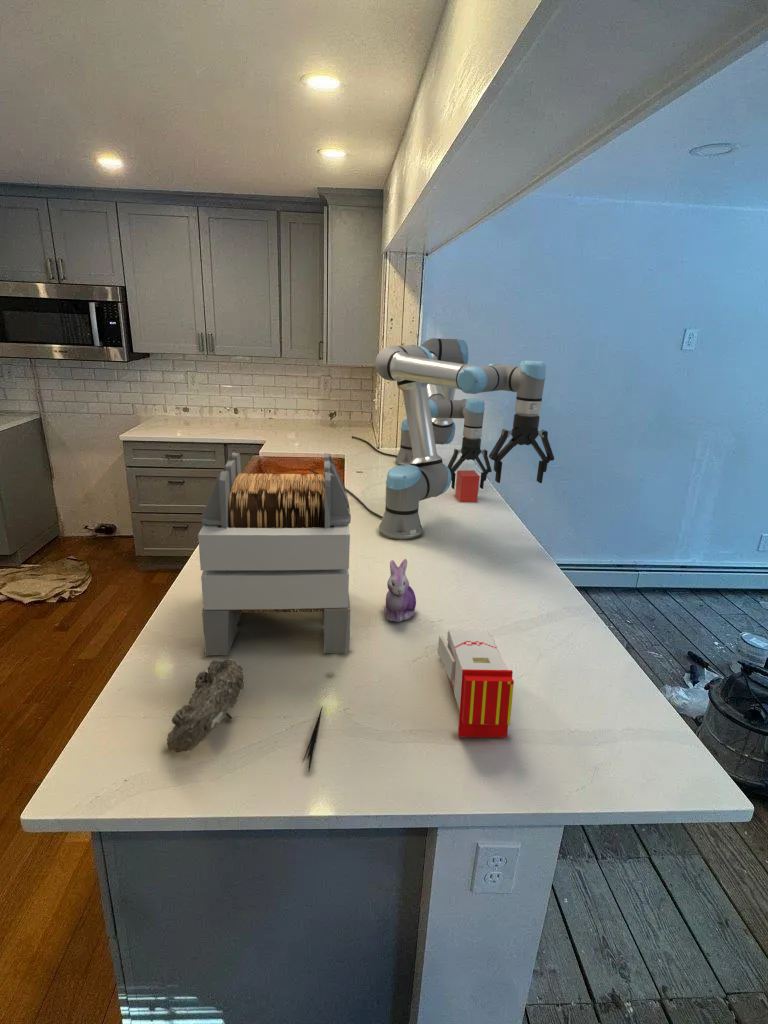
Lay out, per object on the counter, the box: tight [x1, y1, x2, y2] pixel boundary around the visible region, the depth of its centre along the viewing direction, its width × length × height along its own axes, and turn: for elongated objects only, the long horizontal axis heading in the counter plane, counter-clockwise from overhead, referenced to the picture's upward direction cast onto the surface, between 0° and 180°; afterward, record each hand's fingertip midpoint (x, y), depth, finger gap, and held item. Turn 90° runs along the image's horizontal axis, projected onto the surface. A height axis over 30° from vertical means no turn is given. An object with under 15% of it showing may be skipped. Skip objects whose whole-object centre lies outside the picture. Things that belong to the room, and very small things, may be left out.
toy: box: [437, 628, 515, 738], centre depth 117 cm, size 12×13×30 cm
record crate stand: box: [197, 451, 352, 657], centre depth 136 cm, size 34×33×41 cm
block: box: [454, 469, 481, 503], centre depth 239 cm, size 7×9×11 cm
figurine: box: [384, 558, 417, 623], centre depth 145 cm, size 9×10×15 cm
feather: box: [301, 673, 332, 771], centre depth 108 cm, size 2×28×2 cm
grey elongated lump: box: [166, 658, 245, 754], centre depth 106 cm, size 22×10×15 cm
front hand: (518, 481), depth 178 cm, fingers open, 13 cm apart
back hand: (467, 488), depth 239 cm, fingers open, 12 cm apart
